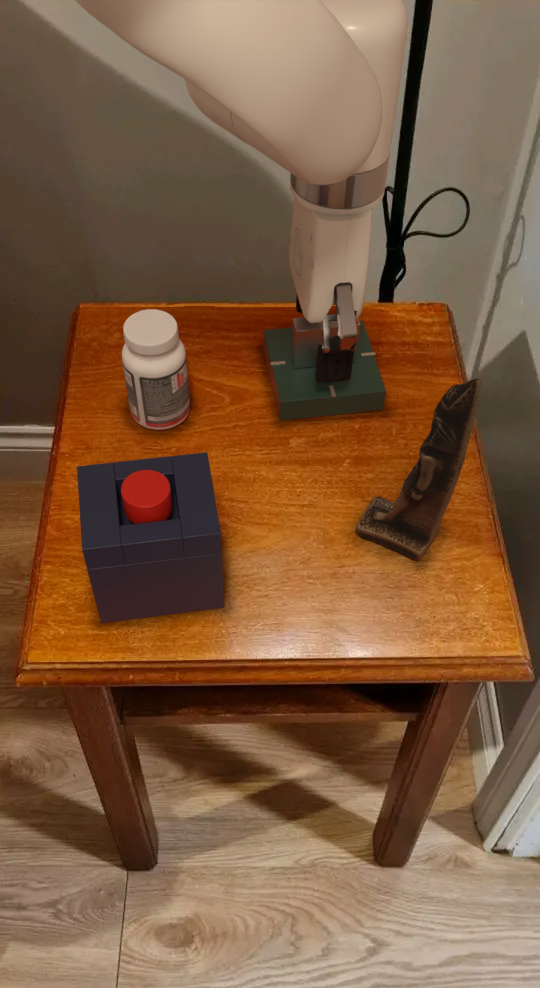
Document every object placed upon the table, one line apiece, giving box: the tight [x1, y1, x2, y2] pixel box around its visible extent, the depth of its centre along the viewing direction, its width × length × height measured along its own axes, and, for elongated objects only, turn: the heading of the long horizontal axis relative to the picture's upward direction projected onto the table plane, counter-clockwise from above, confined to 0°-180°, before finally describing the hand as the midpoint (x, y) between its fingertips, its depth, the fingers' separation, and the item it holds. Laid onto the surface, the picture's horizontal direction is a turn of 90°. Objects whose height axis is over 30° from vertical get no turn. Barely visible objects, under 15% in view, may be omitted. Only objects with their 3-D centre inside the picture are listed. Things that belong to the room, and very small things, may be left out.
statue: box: [355, 378, 482, 562], centre depth 70 cm, size 4×7×20 cm, turn 62°
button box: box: [76, 451, 225, 624], centre depth 72 cm, size 10×8×10 cm
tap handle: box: [291, 316, 360, 368], centre depth 85 cm, size 6×2×5 cm, turn 100°
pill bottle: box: [121, 308, 191, 431], centre depth 82 cm, size 6×6×10 cm
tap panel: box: [262, 320, 387, 422], centre depth 88 cm, size 10×10×3 cm
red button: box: [121, 470, 172, 524], centre depth 67 cm, size 4×4×2 cm
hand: (322, 343), depth 85 cm, fingers open, 9 cm apart
